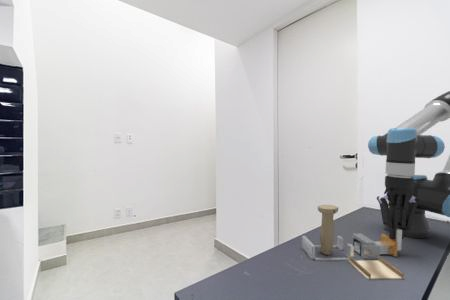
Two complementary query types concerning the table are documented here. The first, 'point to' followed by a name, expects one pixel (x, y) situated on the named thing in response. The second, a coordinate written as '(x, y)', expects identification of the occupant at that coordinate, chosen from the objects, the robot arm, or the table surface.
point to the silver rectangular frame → (310, 248)
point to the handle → (327, 228)
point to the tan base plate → (376, 269)
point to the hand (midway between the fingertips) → (395, 248)
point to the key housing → (366, 246)
